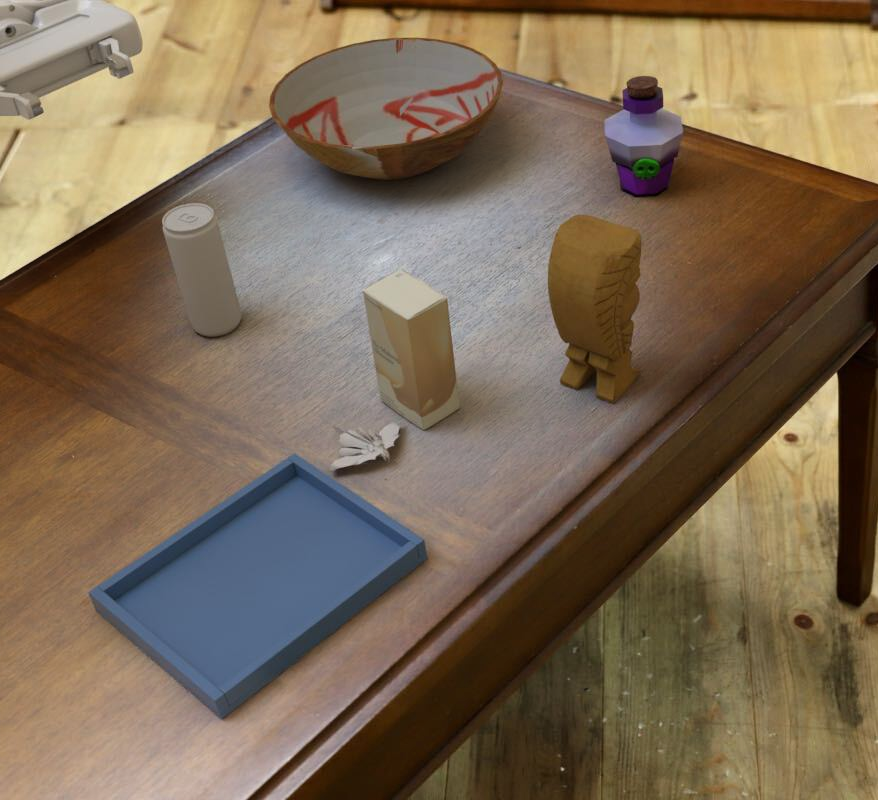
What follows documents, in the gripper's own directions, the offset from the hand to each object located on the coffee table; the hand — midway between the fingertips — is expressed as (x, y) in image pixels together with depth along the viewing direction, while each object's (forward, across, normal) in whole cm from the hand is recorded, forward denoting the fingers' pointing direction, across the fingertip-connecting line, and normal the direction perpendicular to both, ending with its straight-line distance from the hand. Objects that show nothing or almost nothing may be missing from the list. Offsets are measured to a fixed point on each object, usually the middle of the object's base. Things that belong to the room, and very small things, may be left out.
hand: (81, 88), depth 124 cm
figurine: (+47, +16, +21) cm, 54 cm away
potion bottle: (+29, +44, +21) cm, 57 cm away
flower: (+37, -3, +21) cm, 42 cm away
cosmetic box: (+37, +4, +21) cm, 42 cm away
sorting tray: (+43, -18, +20) cm, 51 cm away
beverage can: (+13, 0, +21) cm, 24 cm away
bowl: (+3, +32, +21) cm, 38 cm away
